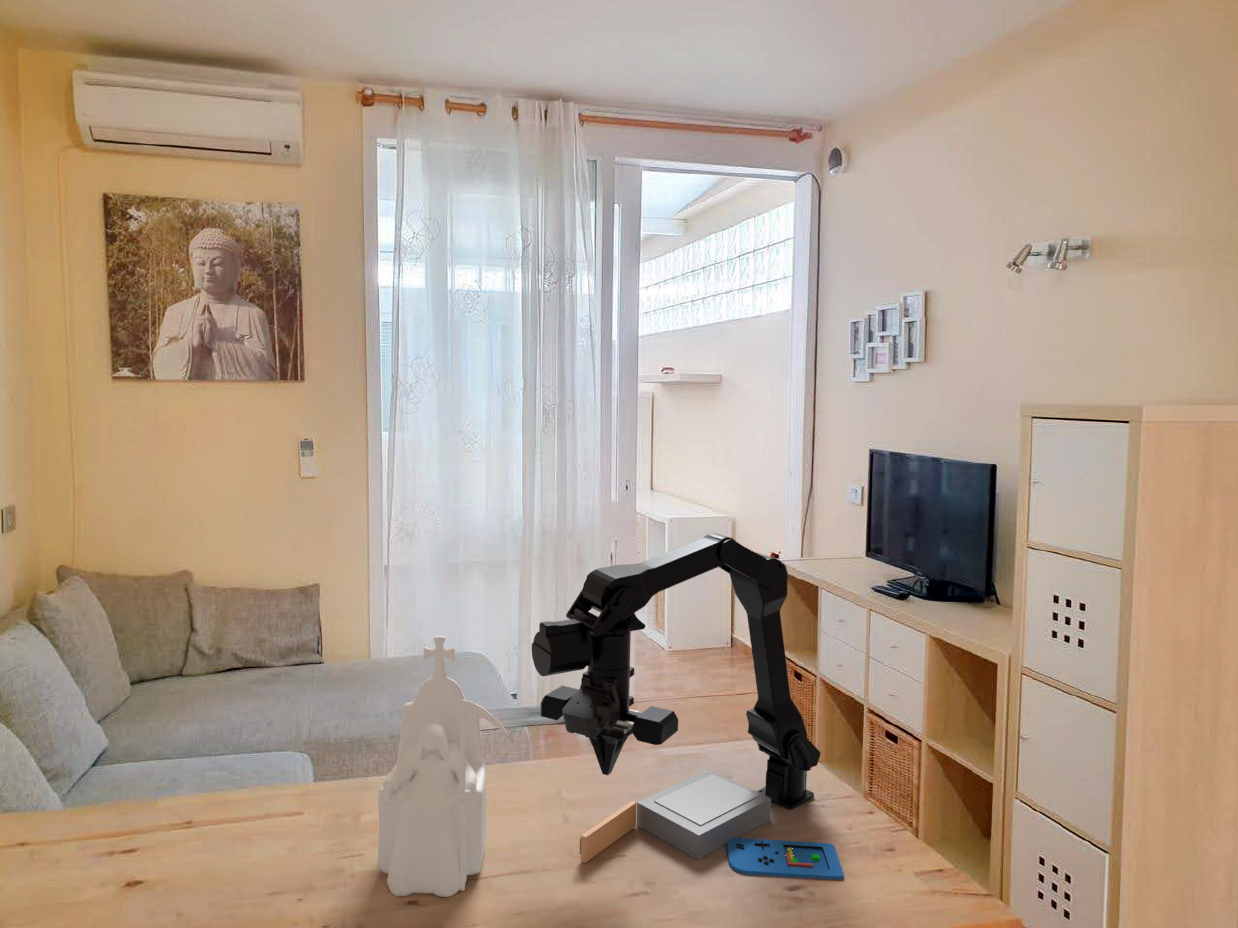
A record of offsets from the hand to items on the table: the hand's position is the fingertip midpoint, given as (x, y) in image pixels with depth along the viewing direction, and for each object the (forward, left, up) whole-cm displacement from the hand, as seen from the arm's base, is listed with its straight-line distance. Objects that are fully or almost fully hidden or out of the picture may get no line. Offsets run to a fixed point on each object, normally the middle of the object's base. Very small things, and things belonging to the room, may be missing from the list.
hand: (606, 773), depth 121 cm
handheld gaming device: (-17, +18, -11) cm, 27 cm away
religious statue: (+19, -10, -11) cm, 24 cm away
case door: (-1, -1, -11) cm, 11 cm away
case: (-16, +4, -11) cm, 20 cm away
